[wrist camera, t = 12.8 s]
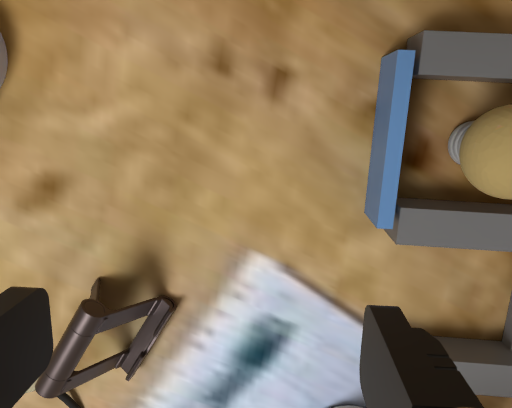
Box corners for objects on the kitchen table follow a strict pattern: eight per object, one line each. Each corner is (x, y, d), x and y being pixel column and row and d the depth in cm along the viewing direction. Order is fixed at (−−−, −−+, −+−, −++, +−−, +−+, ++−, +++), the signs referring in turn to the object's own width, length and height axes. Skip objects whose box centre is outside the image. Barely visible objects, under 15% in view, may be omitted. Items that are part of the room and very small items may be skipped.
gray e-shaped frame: (383, 38, 34) (400, 26, 29) (581, 46, 33) (632, 36, 28) (348, 358, 41) (357, 392, 36) (512, 371, 40) (544, 407, 35)
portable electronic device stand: (136, 370, 42) (101, 432, 34) (67, 330, 42) (15, 384, 34) (179, 302, 40) (153, 351, 32) (107, 260, 40) (62, 299, 32)
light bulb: (522, 123, 35) (615, 130, 25) (482, 192, 36) (555, 224, 27) (452, 91, 35) (519, 86, 25) (415, 162, 36) (464, 184, 26)
